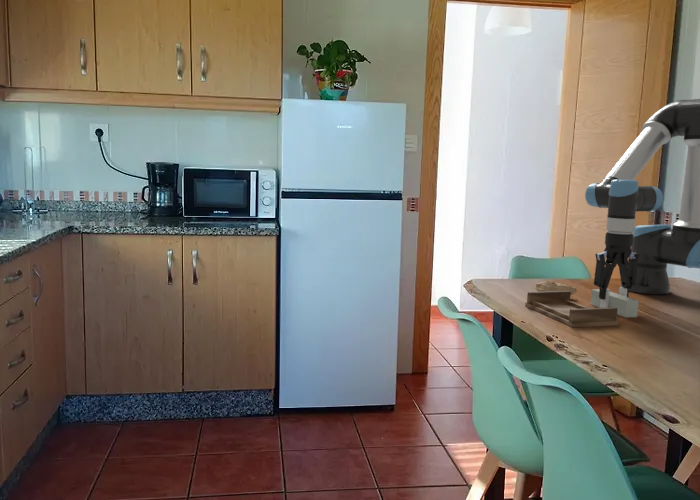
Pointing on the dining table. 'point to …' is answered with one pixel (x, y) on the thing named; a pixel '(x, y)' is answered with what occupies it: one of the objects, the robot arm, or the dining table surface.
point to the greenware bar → (617, 303)
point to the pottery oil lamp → (554, 287)
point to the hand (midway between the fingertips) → (612, 309)
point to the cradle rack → (570, 309)
